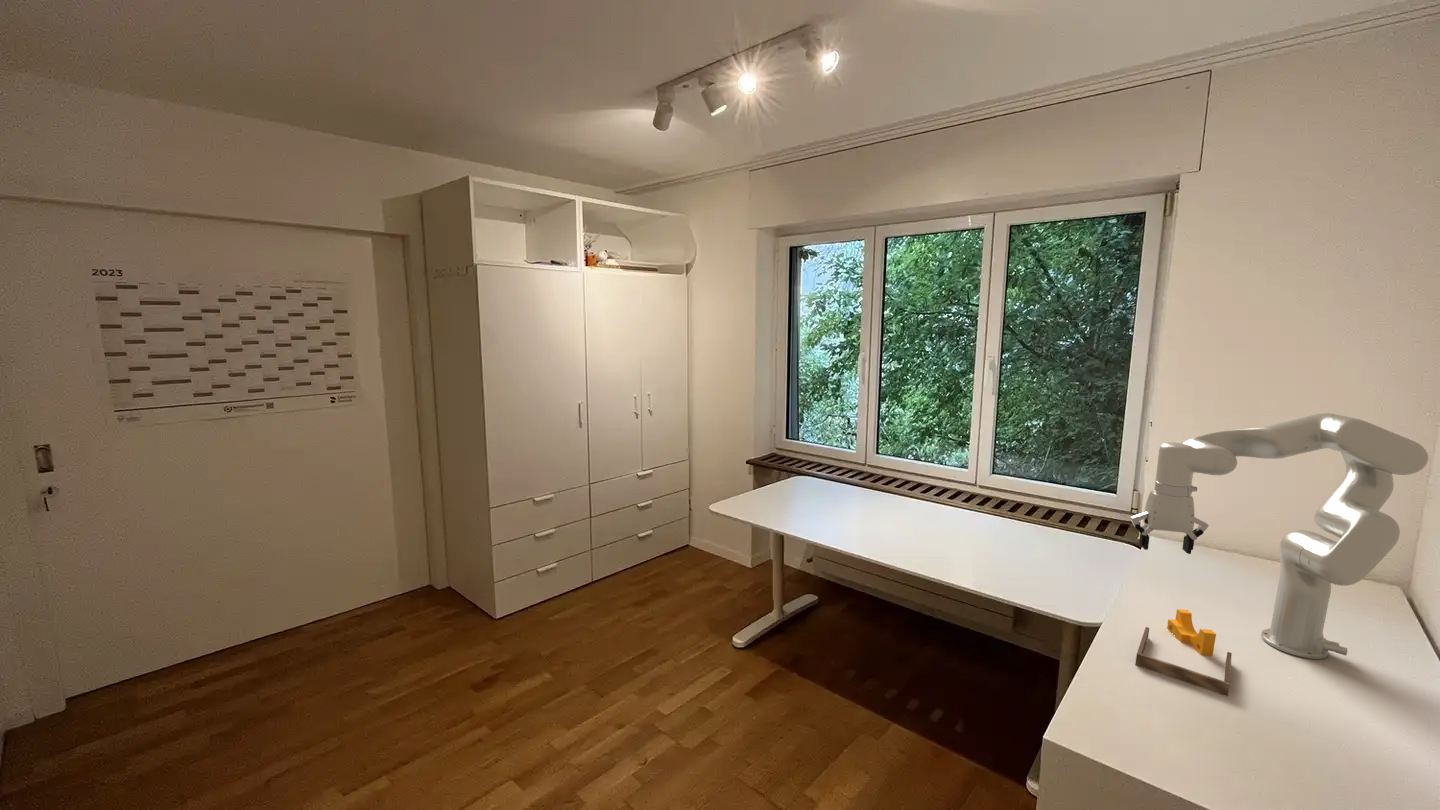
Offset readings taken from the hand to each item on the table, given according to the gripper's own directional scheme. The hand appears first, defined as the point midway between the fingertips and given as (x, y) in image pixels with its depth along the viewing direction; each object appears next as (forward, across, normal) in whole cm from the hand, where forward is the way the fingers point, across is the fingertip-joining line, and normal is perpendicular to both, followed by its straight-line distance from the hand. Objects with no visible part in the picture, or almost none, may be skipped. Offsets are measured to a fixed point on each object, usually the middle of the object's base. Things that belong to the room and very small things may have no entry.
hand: (1165, 549), depth 153 cm
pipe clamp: (+25, -7, +2) cm, 26 cm away
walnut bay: (+25, -1, +14) cm, 28 cm away
